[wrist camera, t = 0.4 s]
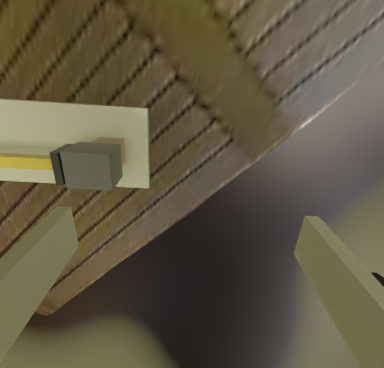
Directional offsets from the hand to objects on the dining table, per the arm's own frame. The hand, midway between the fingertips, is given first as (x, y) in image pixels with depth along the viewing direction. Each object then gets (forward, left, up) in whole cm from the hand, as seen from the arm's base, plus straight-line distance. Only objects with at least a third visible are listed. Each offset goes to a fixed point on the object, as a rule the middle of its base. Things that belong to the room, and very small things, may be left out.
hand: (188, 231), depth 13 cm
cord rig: (+4, -28, -28) cm, 40 cm away
